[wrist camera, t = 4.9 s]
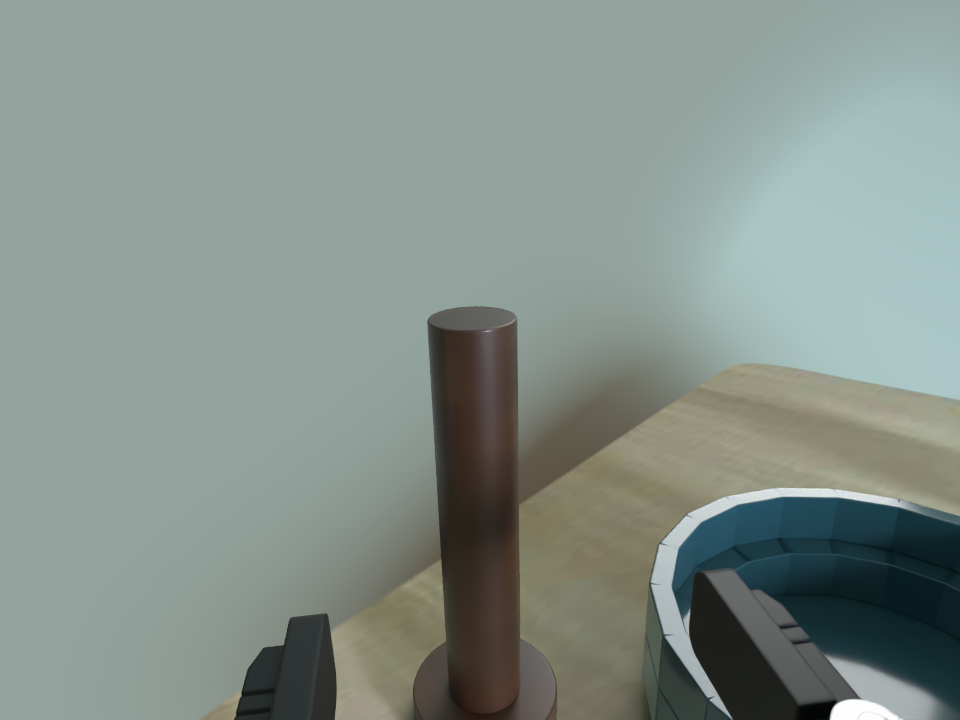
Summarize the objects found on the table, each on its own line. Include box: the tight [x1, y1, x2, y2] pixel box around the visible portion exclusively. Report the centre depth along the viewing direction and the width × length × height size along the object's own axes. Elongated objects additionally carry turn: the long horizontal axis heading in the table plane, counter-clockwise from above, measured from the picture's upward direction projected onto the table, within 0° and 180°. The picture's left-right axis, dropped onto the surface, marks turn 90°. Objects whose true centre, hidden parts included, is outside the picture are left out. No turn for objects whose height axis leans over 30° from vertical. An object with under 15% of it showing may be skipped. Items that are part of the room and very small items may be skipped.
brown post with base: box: [413, 307, 557, 720], centre depth 21 cm, size 5×5×15 cm
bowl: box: [643, 488, 960, 720], centre depth 21 cm, size 16×16×5 cm
